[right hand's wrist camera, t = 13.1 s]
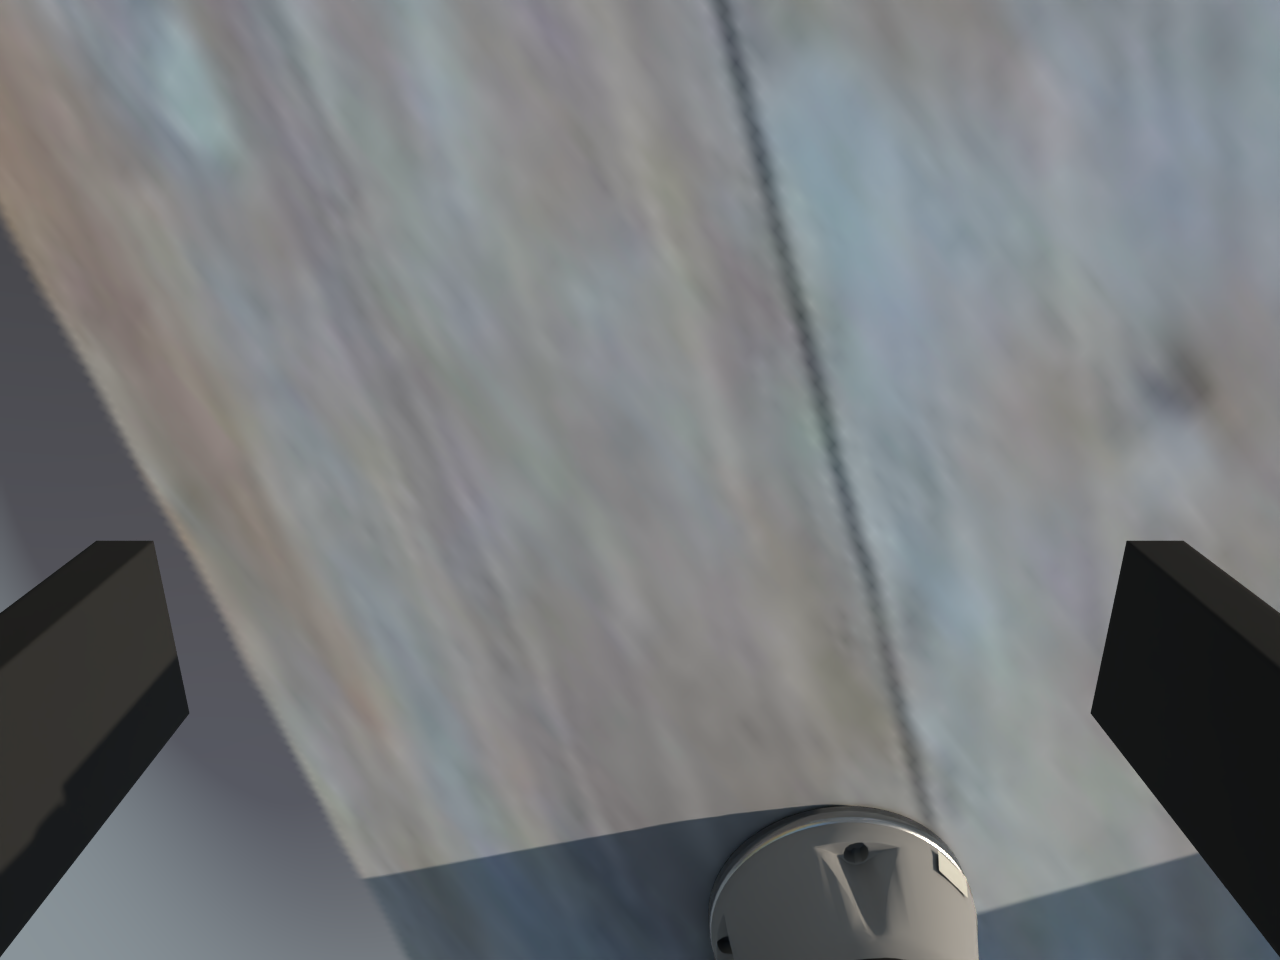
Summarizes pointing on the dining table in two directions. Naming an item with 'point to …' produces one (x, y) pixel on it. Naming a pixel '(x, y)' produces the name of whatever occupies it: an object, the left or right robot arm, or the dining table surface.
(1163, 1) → the dining table surface
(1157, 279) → the dining table surface
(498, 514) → the dining table surface
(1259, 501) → the dining table surface
